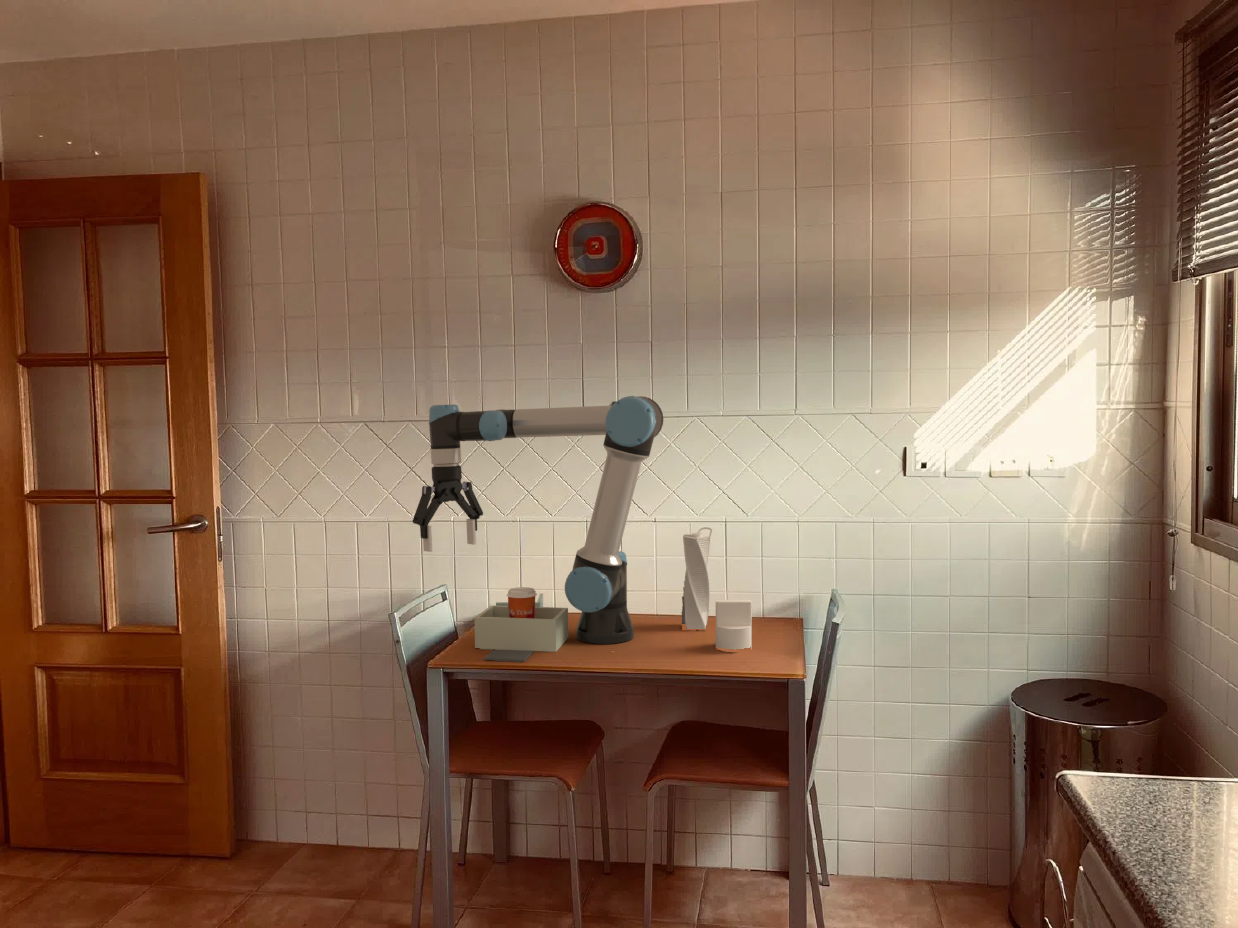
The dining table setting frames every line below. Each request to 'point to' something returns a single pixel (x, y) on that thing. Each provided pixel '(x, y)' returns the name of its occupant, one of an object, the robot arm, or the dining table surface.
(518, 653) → the mat
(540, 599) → the l-shaped corner panel
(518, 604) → the paper cup
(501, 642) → the crate
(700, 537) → the skyscraper
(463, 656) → the dining table surface
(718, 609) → the base with upright slab
